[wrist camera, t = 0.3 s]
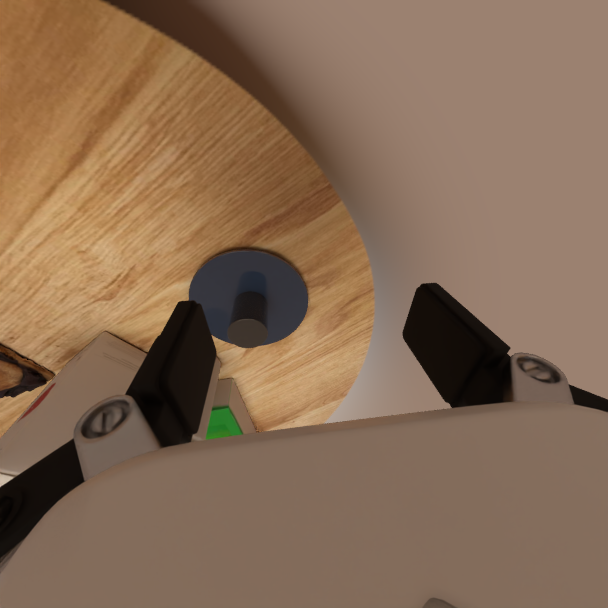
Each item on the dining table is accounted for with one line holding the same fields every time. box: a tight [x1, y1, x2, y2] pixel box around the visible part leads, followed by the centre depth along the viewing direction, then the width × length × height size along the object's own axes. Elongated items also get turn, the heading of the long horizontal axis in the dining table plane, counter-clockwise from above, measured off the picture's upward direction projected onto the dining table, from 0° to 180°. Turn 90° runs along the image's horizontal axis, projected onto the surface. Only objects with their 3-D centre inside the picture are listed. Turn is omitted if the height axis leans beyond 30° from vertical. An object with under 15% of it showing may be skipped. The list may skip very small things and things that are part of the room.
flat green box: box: [205, 378, 257, 440], centre depth 41 cm, size 25×25×5 cm
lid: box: [189, 249, 308, 348], centre depth 26 cm, size 14×14×6 cm
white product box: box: [0, 332, 147, 487], centre depth 26 cm, size 9×9×15 cm
